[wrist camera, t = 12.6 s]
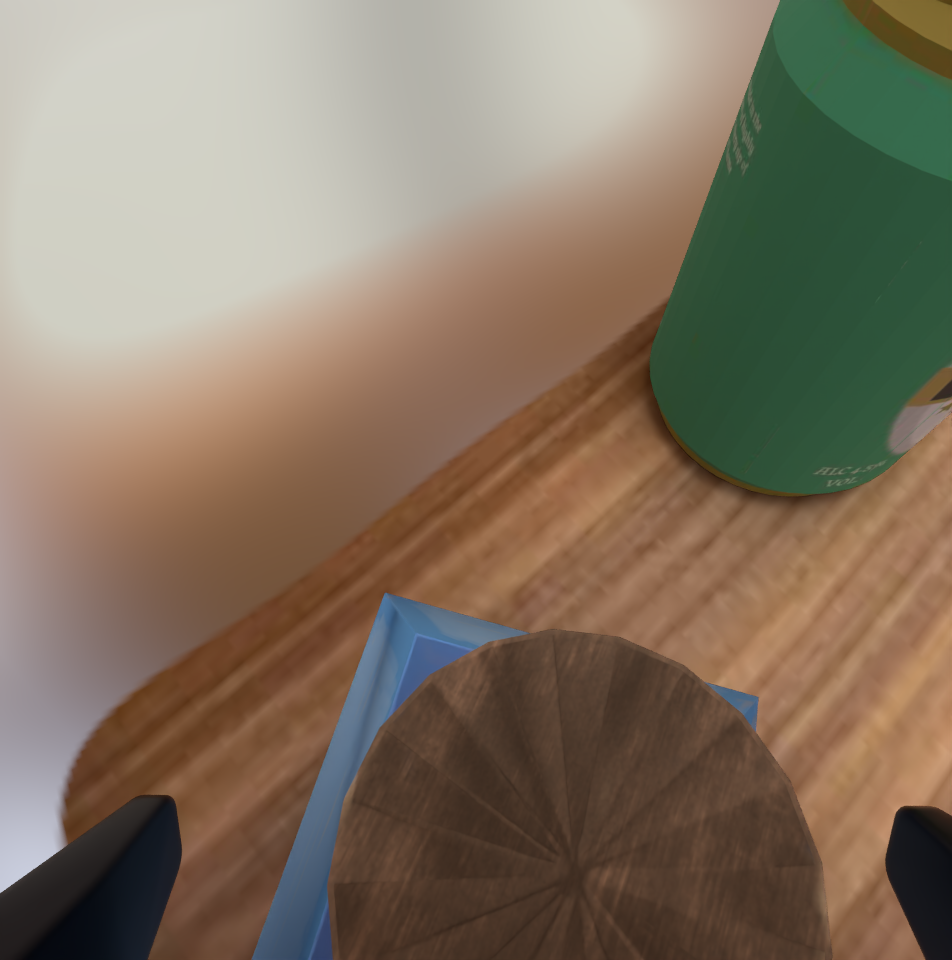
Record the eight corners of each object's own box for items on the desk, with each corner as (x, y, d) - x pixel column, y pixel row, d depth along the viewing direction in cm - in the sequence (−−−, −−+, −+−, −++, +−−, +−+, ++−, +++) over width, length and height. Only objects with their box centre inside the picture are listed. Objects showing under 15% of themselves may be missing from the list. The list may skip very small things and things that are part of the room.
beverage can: (804, 563, 19) (1239, 206, 8) (591, 396, 21) (709, -35, 11) (940, 402, 21) (1400, -24, 11) (735, 271, 24) (943, -171, 14)
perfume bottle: (413, 672, 17) (312, 385, 6) (659, 745, 16) (1038, 561, 5) (319, 964, 14) (-189, 1392, 3) (613, 1070, 13) (1237, 2091, 2)
